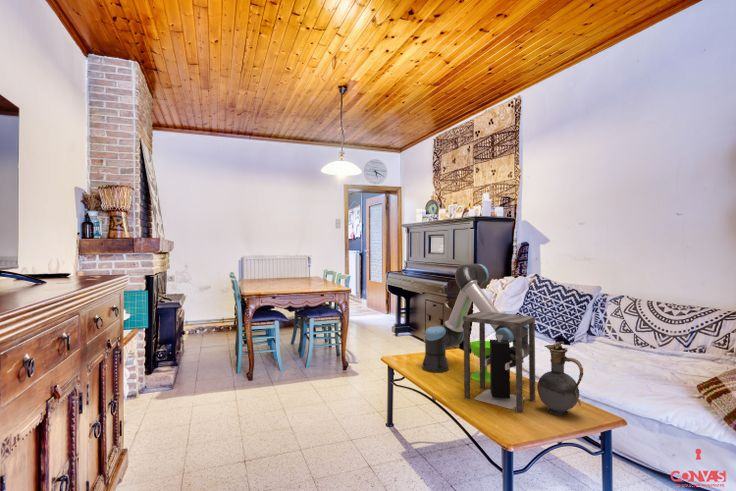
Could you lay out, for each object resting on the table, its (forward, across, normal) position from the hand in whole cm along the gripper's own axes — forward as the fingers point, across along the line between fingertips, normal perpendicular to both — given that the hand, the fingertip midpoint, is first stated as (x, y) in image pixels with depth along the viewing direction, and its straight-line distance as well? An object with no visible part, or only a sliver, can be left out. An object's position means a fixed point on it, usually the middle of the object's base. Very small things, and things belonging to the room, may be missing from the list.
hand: (495, 365), depth 177 cm
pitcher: (-5, -26, -17) cm, 32 cm away
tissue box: (-5, 0, -15) cm, 16 cm away
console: (-5, 0, -17) cm, 17 cm away
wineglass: (-29, +18, -17) cm, 38 cm away
